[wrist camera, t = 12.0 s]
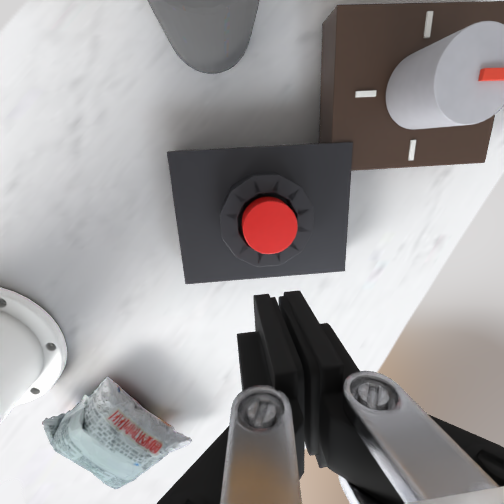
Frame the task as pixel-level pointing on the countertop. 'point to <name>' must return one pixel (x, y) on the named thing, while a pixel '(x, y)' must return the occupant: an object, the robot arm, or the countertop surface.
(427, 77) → the dial
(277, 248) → the power button
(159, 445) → the packaged food
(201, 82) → the countertop surface
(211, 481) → the robot arm
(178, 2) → the bottle
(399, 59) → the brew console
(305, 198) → the push button base
